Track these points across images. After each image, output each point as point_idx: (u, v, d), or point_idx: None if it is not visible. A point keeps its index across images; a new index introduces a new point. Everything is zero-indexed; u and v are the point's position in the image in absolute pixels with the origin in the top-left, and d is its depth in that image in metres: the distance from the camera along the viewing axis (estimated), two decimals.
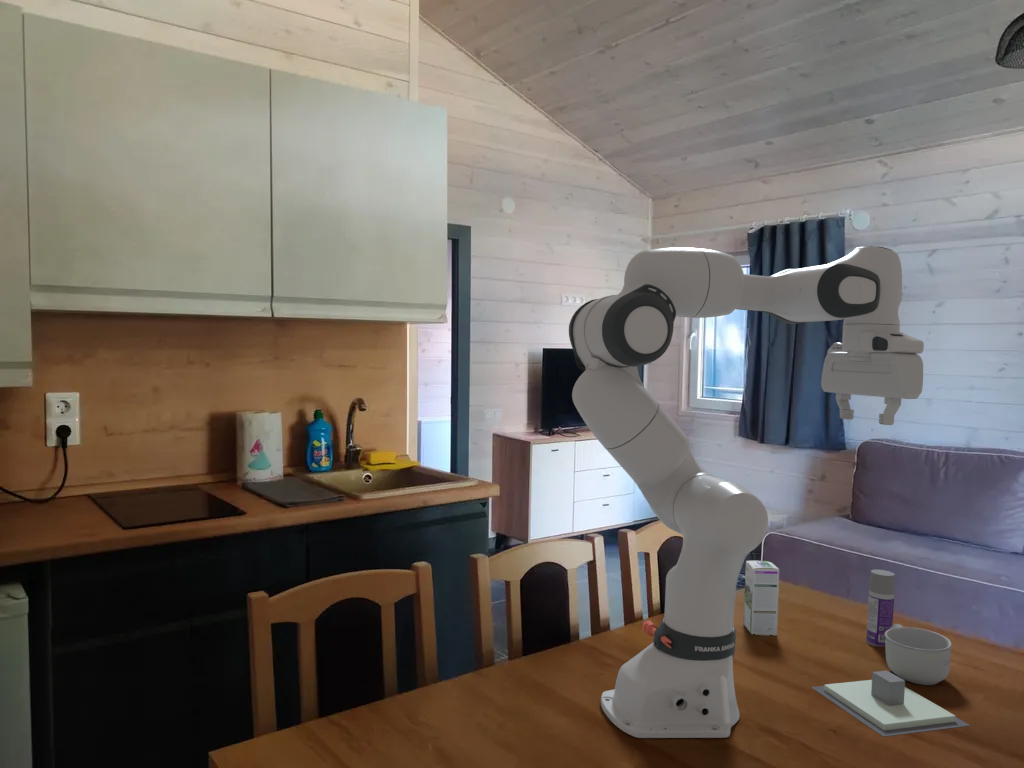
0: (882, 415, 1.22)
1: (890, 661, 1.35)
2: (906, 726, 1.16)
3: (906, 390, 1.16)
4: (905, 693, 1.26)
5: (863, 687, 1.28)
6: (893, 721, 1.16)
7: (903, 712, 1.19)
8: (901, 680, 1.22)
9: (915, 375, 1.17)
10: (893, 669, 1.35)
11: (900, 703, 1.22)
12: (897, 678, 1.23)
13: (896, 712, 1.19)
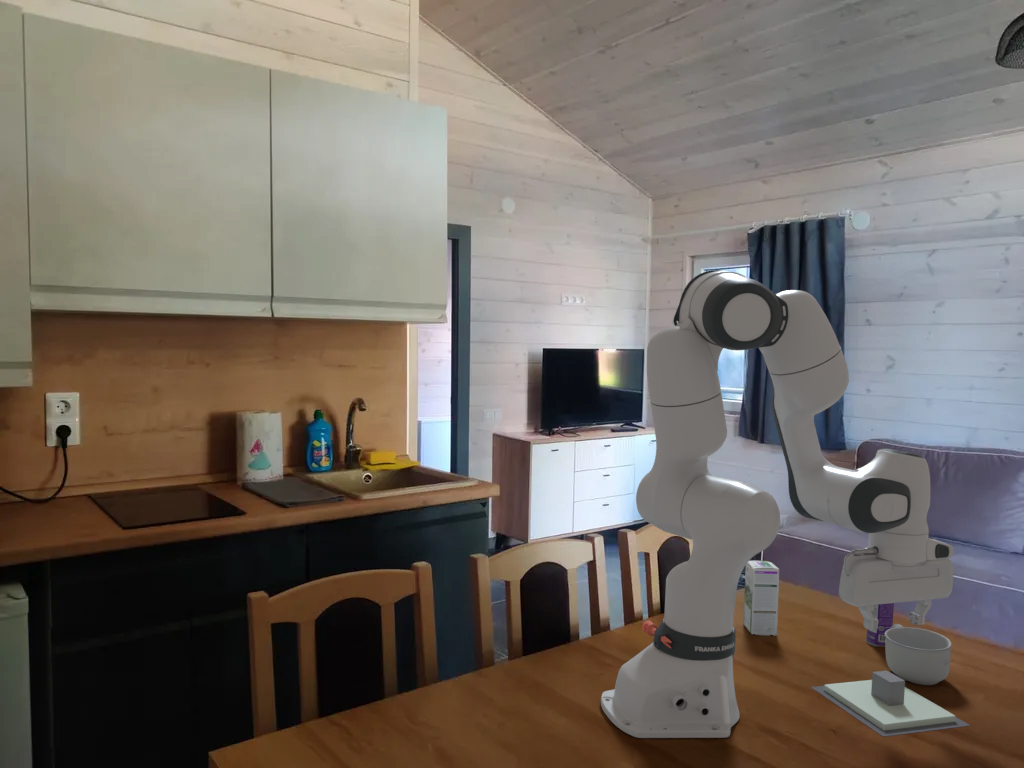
0: (921, 616, 1.23)
1: (890, 661, 1.35)
2: (906, 726, 1.16)
3: None
4: (905, 693, 1.26)
5: (863, 687, 1.28)
6: (893, 721, 1.16)
7: (903, 712, 1.19)
8: (901, 680, 1.22)
9: None
10: (893, 669, 1.35)
11: (900, 703, 1.22)
12: (897, 678, 1.23)
13: (896, 712, 1.19)
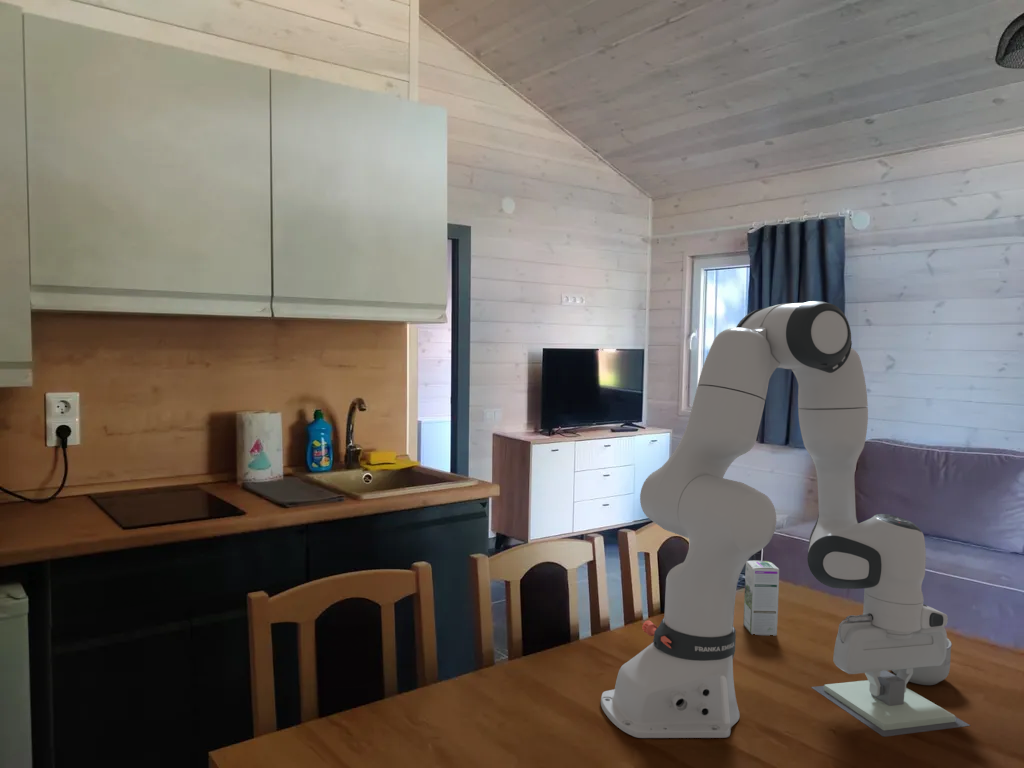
0: None
1: None
2: (906, 726, 1.16)
3: None
4: (905, 693, 1.26)
5: (863, 687, 1.28)
6: (893, 721, 1.16)
7: (903, 712, 1.19)
8: (901, 680, 1.22)
9: None
10: None
11: (900, 703, 1.22)
12: (897, 678, 1.23)
13: (896, 713, 1.19)
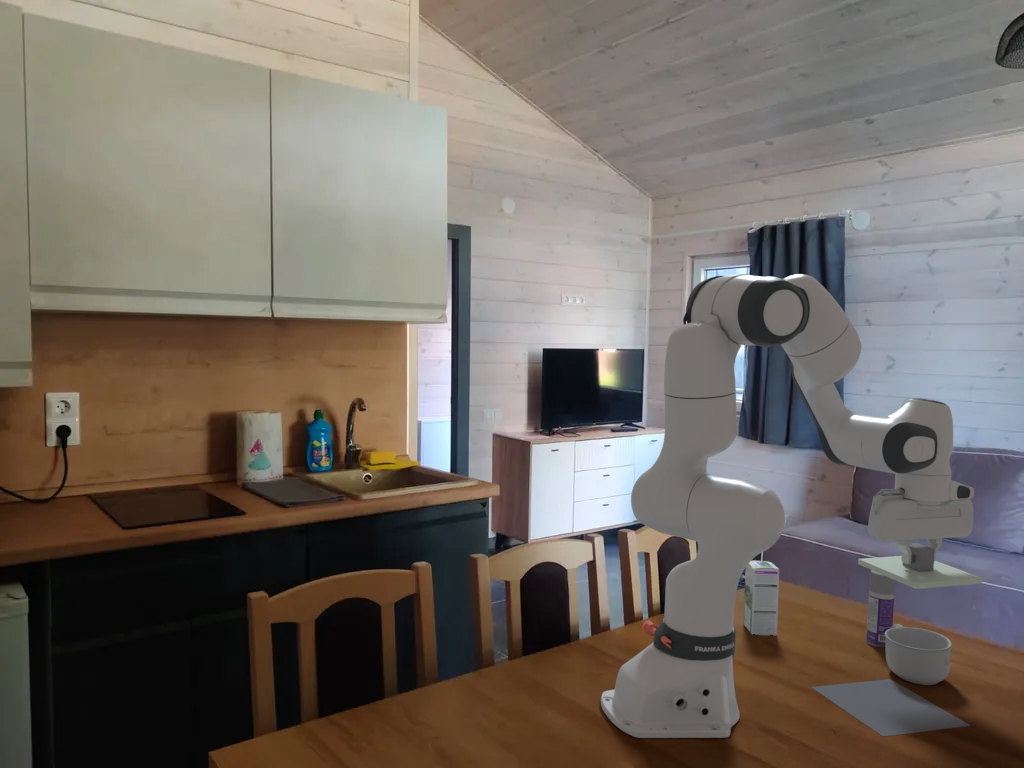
0: None
1: (890, 661, 1.35)
2: (936, 586, 1.26)
3: None
4: (934, 564, 1.36)
5: (895, 560, 1.38)
6: (924, 581, 1.26)
7: (933, 576, 1.29)
8: (931, 549, 1.32)
9: None
10: (893, 669, 1.35)
11: (930, 570, 1.32)
12: (927, 547, 1.32)
13: (927, 576, 1.29)
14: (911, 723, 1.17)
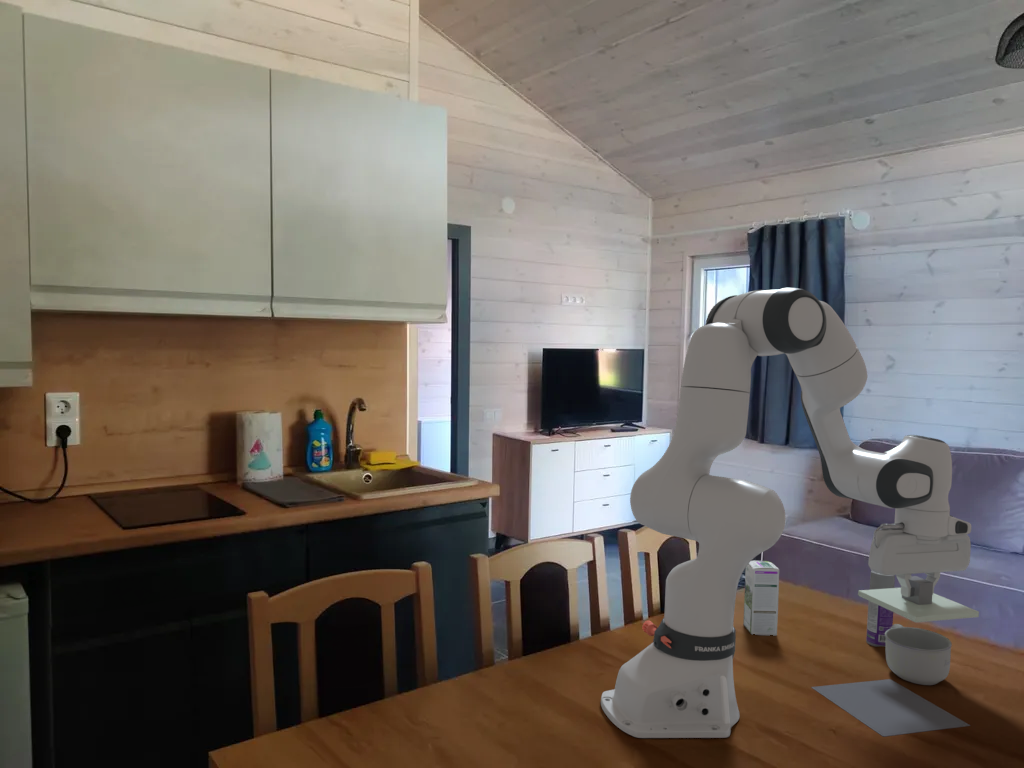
0: None
1: (890, 661, 1.35)
2: (935, 619, 1.29)
3: None
4: (932, 596, 1.39)
5: (894, 592, 1.41)
6: (923, 615, 1.29)
7: (932, 609, 1.32)
8: (929, 582, 1.35)
9: None
10: (893, 669, 1.35)
11: (928, 603, 1.35)
12: (926, 581, 1.36)
13: (926, 609, 1.32)
14: (911, 723, 1.17)
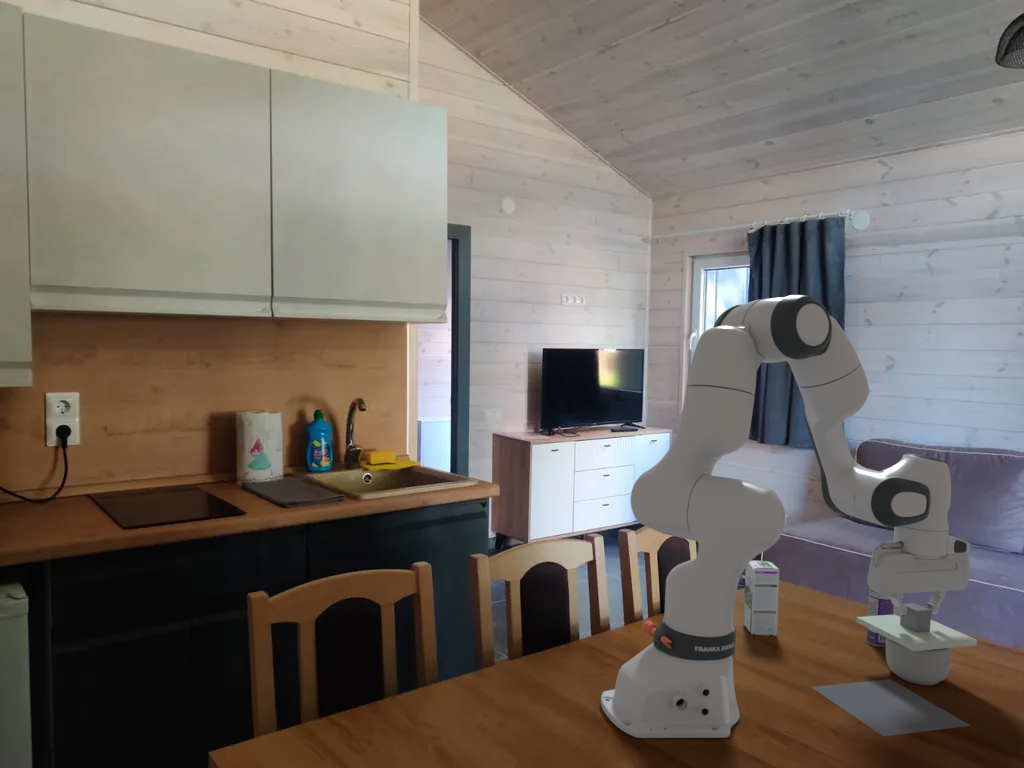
0: (935, 606, 1.37)
1: (890, 661, 1.35)
2: (933, 648, 1.29)
3: None
4: (930, 623, 1.39)
5: (892, 619, 1.41)
6: (921, 643, 1.29)
7: (930, 637, 1.32)
8: (927, 610, 1.35)
9: None
10: (893, 669, 1.35)
11: (927, 630, 1.35)
12: (924, 608, 1.36)
13: (924, 637, 1.32)
14: (911, 723, 1.17)
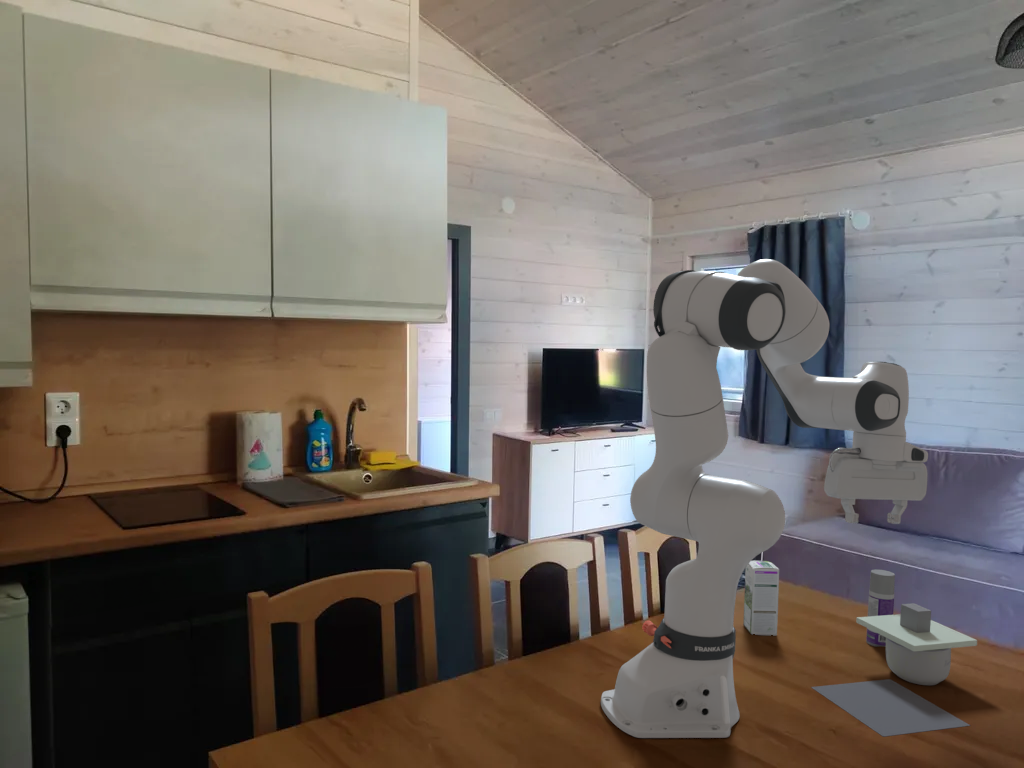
0: (897, 516, 1.37)
1: (890, 661, 1.35)
2: (933, 648, 1.29)
3: None
4: (930, 624, 1.39)
5: (892, 619, 1.41)
6: (922, 643, 1.29)
7: (930, 637, 1.32)
8: (927, 610, 1.35)
9: None
10: (893, 669, 1.35)
11: (927, 631, 1.35)
12: (924, 608, 1.36)
13: (924, 637, 1.32)
14: (911, 723, 1.17)
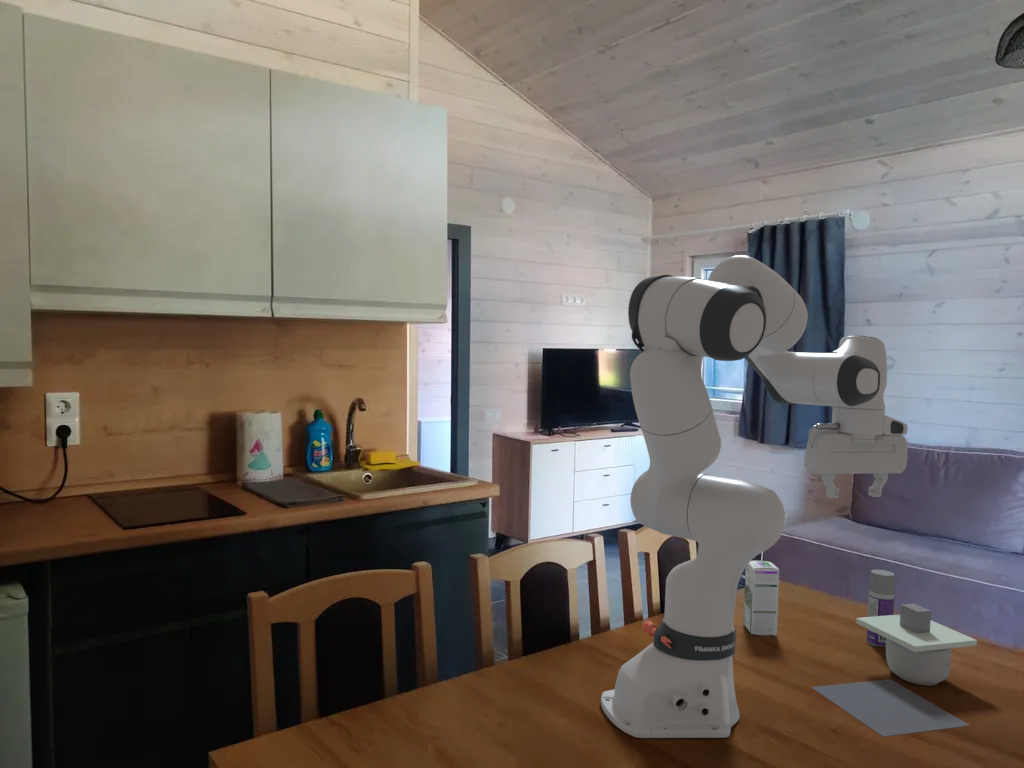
0: (878, 489, 1.37)
1: (891, 661, 1.35)
2: (934, 648, 1.29)
3: None
4: (930, 624, 1.39)
5: (891, 620, 1.41)
6: (922, 644, 1.29)
7: (930, 637, 1.32)
8: (927, 610, 1.35)
9: None
10: (893, 669, 1.34)
11: (927, 631, 1.35)
12: (924, 609, 1.36)
13: (924, 638, 1.32)
14: (911, 723, 1.17)
